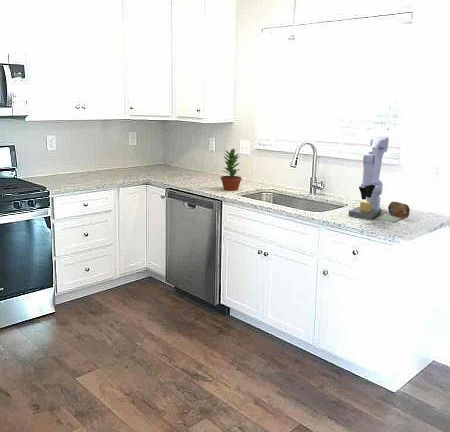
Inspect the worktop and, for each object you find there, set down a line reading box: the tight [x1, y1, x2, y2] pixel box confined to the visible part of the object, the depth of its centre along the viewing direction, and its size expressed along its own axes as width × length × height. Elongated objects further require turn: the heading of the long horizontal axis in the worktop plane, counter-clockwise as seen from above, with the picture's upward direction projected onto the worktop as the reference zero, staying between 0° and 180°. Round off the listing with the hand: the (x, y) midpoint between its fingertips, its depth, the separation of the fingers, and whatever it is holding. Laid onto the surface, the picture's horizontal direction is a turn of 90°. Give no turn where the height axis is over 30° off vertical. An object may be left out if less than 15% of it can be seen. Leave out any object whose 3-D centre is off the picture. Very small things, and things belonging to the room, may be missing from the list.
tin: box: [387, 201, 411, 220], centre depth 295 cm, size 15×3×8 cm, turn 24°
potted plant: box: [220, 147, 242, 192], centre depth 362 cm, size 15×15×30 cm
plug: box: [359, 200, 371, 212], centre depth 297 cm, size 4×5×8 cm
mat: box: [375, 214, 402, 223], centre depth 290 cm, size 11×11×1 cm
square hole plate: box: [348, 206, 382, 221], centre depth 297 cm, size 14×14×3 cm
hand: (366, 198), depth 295 cm, fingers open, 7 cm apart
